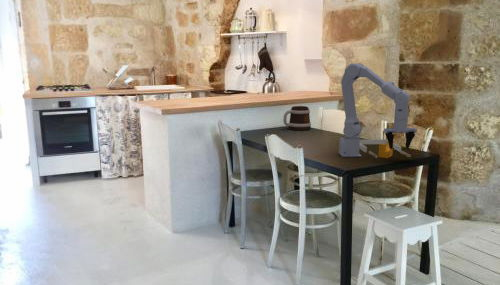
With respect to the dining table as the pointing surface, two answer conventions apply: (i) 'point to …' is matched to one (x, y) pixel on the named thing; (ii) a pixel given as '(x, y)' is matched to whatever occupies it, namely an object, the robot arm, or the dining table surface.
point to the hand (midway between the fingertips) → (399, 148)
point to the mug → (298, 118)
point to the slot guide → (400, 152)
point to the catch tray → (377, 141)
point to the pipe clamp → (385, 150)
